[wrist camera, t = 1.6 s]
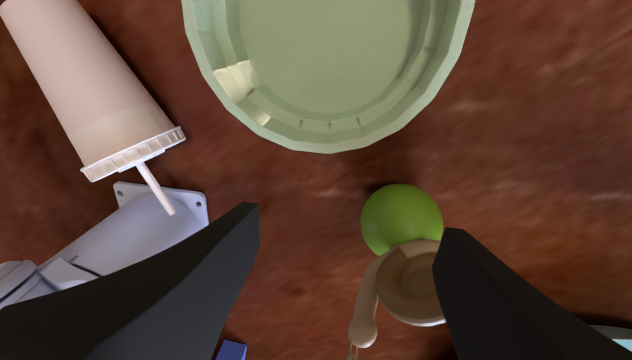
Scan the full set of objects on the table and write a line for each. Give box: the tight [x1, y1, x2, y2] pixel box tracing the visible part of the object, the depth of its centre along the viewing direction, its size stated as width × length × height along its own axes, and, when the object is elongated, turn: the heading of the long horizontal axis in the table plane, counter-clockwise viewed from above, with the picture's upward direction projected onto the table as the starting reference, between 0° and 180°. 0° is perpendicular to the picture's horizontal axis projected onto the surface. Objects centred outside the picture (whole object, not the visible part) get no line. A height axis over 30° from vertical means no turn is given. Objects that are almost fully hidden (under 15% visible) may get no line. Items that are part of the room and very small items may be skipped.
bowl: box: [181, 0, 475, 154], centre depth 15 cm, size 13×13×4 cm
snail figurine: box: [346, 184, 446, 360], centre depth 16 cm, size 5×6×12 cm
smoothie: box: [0, 0, 186, 215], centre depth 18 cm, size 6×6×14 cm
